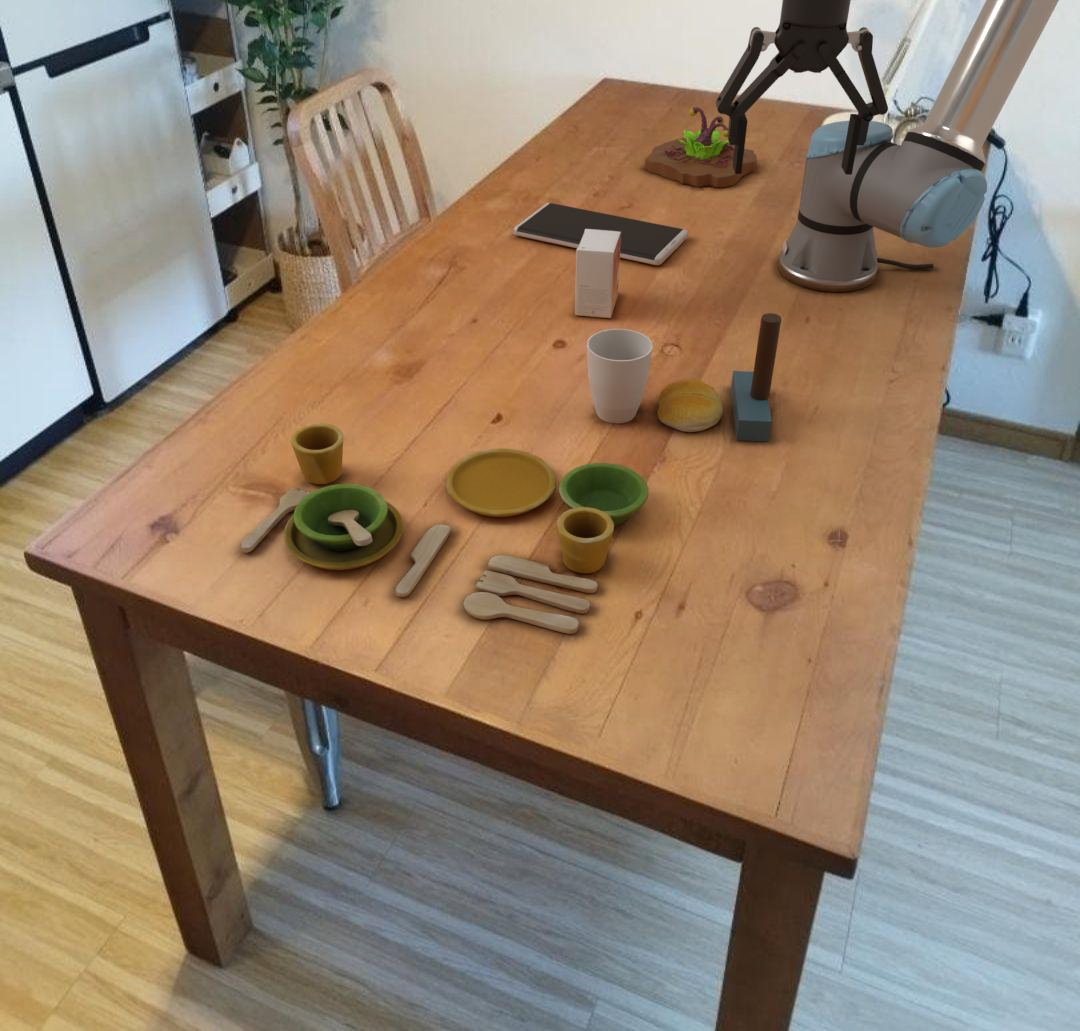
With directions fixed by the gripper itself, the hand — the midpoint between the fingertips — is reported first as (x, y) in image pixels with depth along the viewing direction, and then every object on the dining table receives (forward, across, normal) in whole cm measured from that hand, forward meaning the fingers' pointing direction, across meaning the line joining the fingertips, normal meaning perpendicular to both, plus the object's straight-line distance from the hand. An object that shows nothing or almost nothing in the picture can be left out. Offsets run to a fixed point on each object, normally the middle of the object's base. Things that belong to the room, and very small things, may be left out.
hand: (791, 170), depth 133 cm
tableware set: (+26, +41, +38) cm, 61 cm away
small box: (+27, +23, -15) cm, 38 cm away
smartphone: (+27, +22, -40) cm, 53 cm away
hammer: (+26, +3, +15) cm, 31 cm away
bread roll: (+27, +12, +15) cm, 33 cm away
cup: (+27, +21, +15) cm, 37 cm away
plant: (+27, +2, -74) cm, 79 cm away
